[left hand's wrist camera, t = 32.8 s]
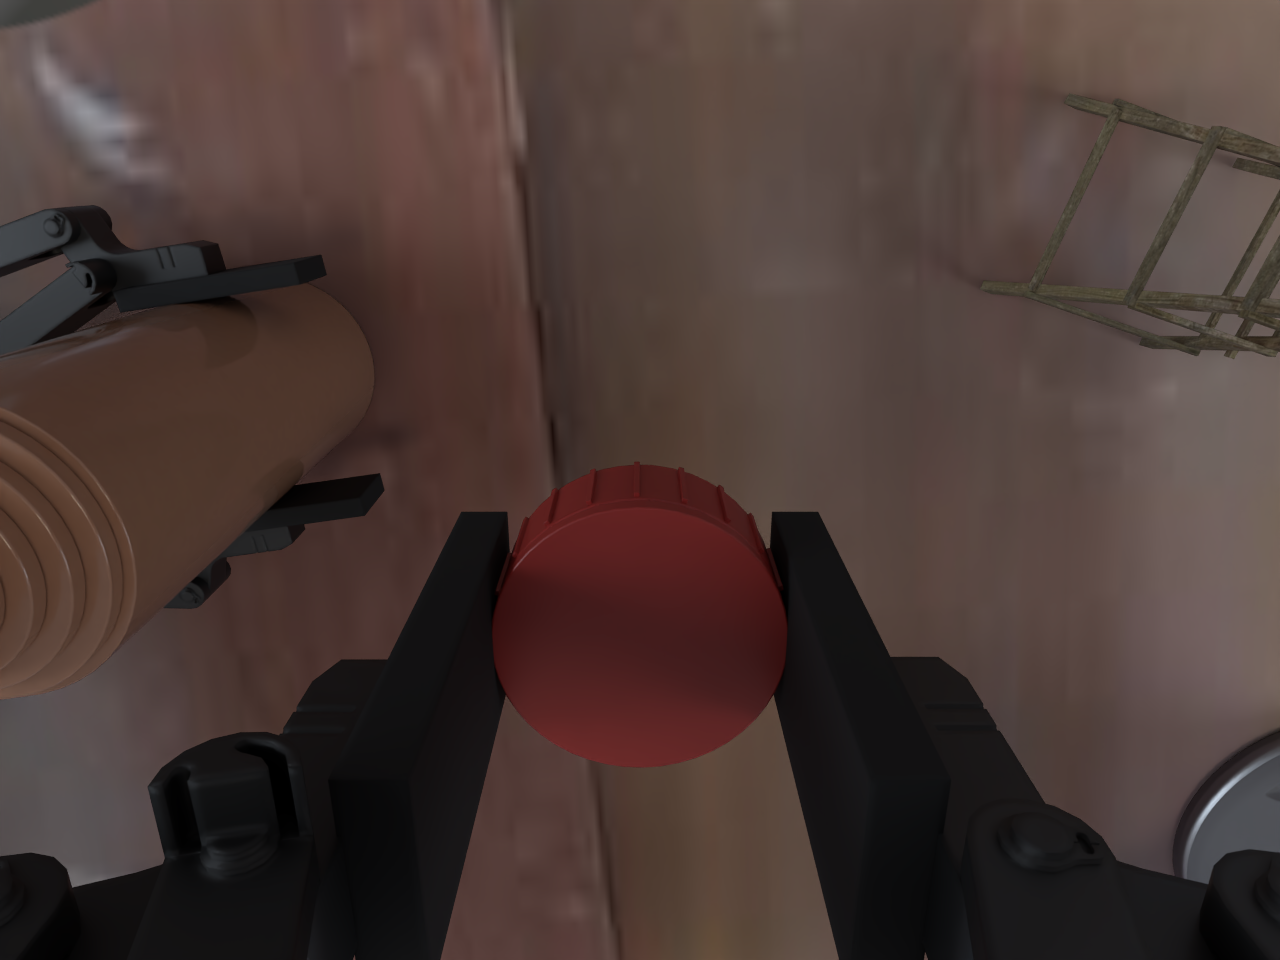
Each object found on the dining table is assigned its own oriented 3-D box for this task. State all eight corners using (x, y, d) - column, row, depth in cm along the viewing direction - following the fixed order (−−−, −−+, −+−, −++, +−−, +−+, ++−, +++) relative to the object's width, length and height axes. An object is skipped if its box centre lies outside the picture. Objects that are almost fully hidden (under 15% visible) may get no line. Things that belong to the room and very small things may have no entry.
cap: (451, 590, 15) (425, 649, 13) (635, 403, 13) (635, 441, 12) (642, 743, 16) (643, 817, 14) (828, 583, 15) (855, 642, 13)
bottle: (287, 238, 37) (-293, 366, 14) (411, 386, 39) (86, 705, 16) (156, 347, 39) (-553, 621, 16) (283, 484, 41) (-177, 898, 18)
